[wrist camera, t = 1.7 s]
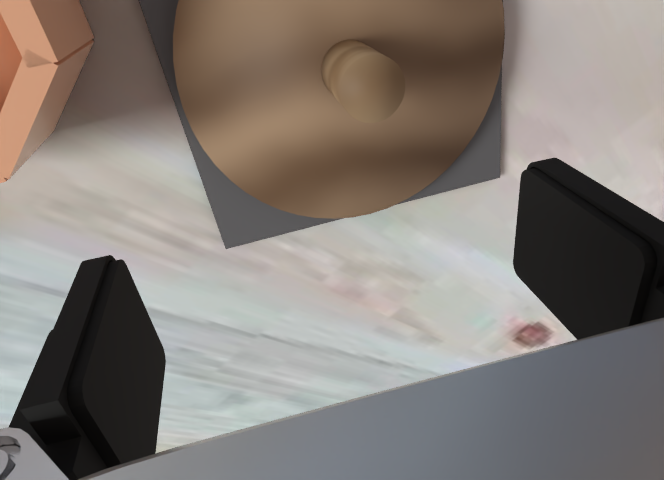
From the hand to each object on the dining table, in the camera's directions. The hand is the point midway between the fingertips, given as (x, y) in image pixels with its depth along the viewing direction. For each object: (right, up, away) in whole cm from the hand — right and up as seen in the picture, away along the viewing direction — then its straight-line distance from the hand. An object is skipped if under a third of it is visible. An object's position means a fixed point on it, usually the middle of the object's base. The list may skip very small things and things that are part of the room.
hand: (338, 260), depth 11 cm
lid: (+1, +11, +17) cm, 20 cm away
